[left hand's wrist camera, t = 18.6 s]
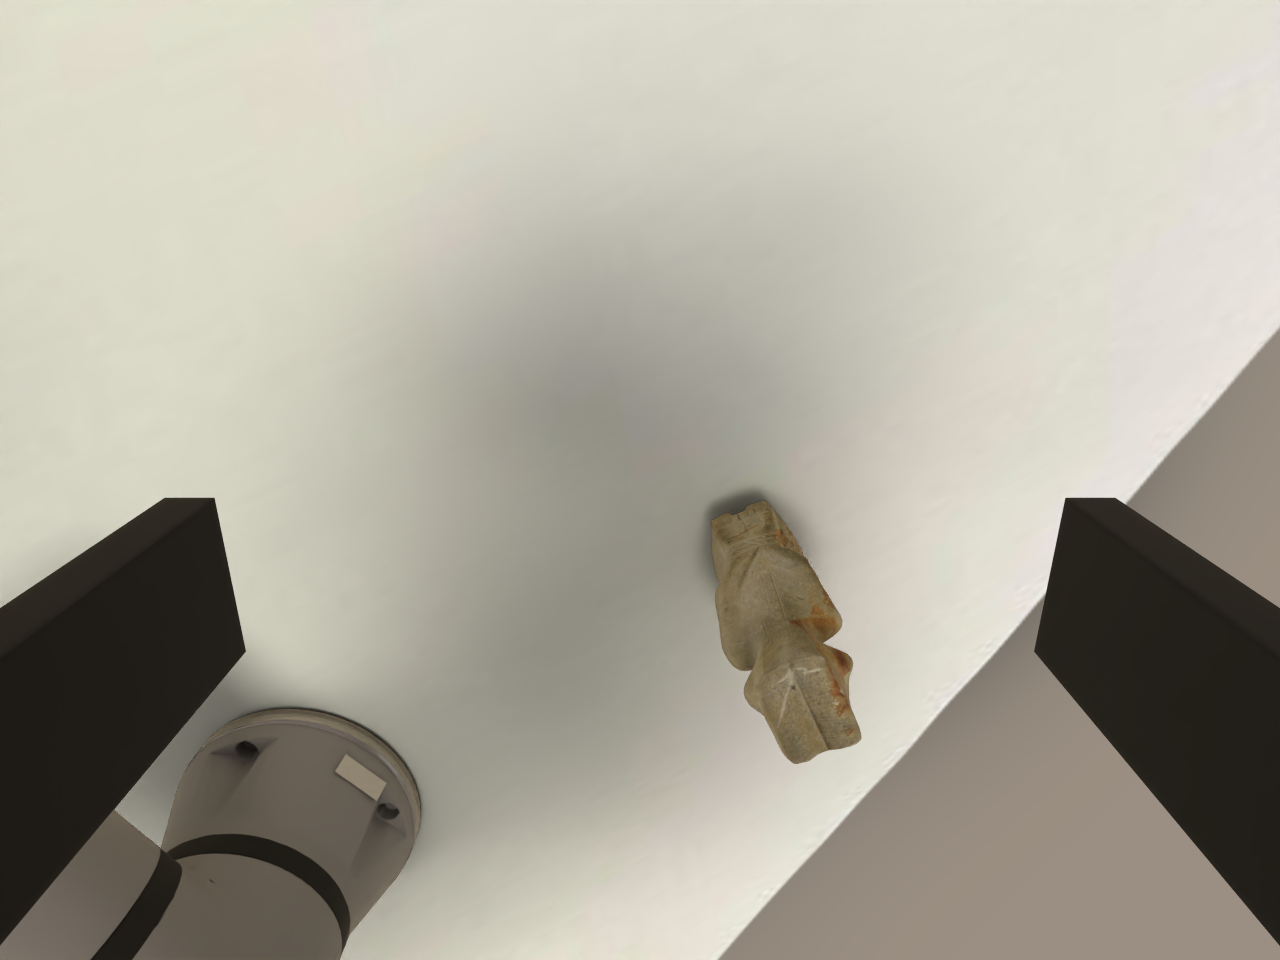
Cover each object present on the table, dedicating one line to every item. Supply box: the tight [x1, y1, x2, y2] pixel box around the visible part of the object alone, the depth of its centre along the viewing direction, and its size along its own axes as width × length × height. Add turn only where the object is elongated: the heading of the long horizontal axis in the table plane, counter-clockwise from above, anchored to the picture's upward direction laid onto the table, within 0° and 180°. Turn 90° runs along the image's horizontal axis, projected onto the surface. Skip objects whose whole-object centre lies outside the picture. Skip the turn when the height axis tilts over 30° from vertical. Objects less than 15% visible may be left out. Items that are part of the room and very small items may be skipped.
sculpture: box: [712, 501, 861, 764], centre depth 39 cm, size 6×7×15 cm
